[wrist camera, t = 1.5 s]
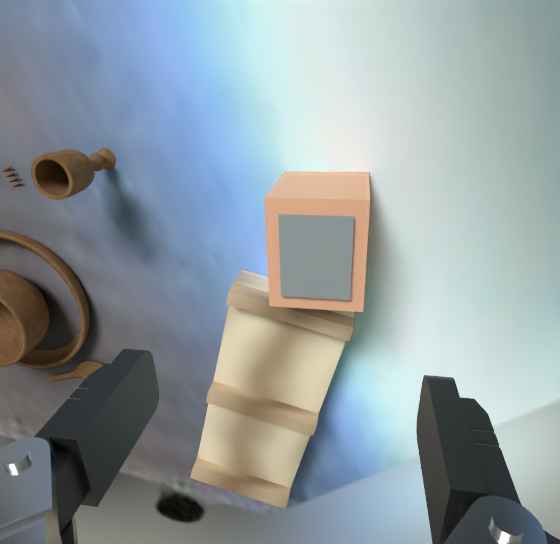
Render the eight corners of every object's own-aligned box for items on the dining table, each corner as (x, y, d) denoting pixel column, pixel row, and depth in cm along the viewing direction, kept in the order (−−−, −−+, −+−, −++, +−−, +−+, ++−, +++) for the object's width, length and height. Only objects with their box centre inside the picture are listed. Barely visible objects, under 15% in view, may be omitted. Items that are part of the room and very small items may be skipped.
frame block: (369, 172, 25) (370, 201, 19) (363, 265, 28) (363, 314, 22) (285, 171, 26) (263, 199, 20) (287, 261, 28) (268, 308, 23)
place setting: (-94, 214, 33) (-181, 242, 28) (112, 119, 27) (51, 132, 22) (32, 389, 39) (-19, 439, 34) (224, 344, 33) (197, 397, 28)
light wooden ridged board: (355, 302, 29) (354, 328, 26) (291, 475, 37) (285, 509, 34) (242, 269, 29) (228, 290, 26) (203, 446, 37) (190, 478, 34)
